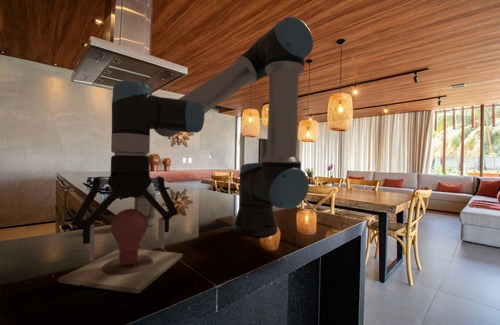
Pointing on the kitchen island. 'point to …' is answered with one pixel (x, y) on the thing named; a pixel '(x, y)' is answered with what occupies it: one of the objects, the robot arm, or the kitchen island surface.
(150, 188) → the bath foam
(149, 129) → the robot arm
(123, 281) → the seat board
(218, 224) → the kitchen island surface
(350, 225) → the kitchen island surface
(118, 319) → the kitchen island surface
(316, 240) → the kitchen island surface
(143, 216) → the dark red bulb shape
